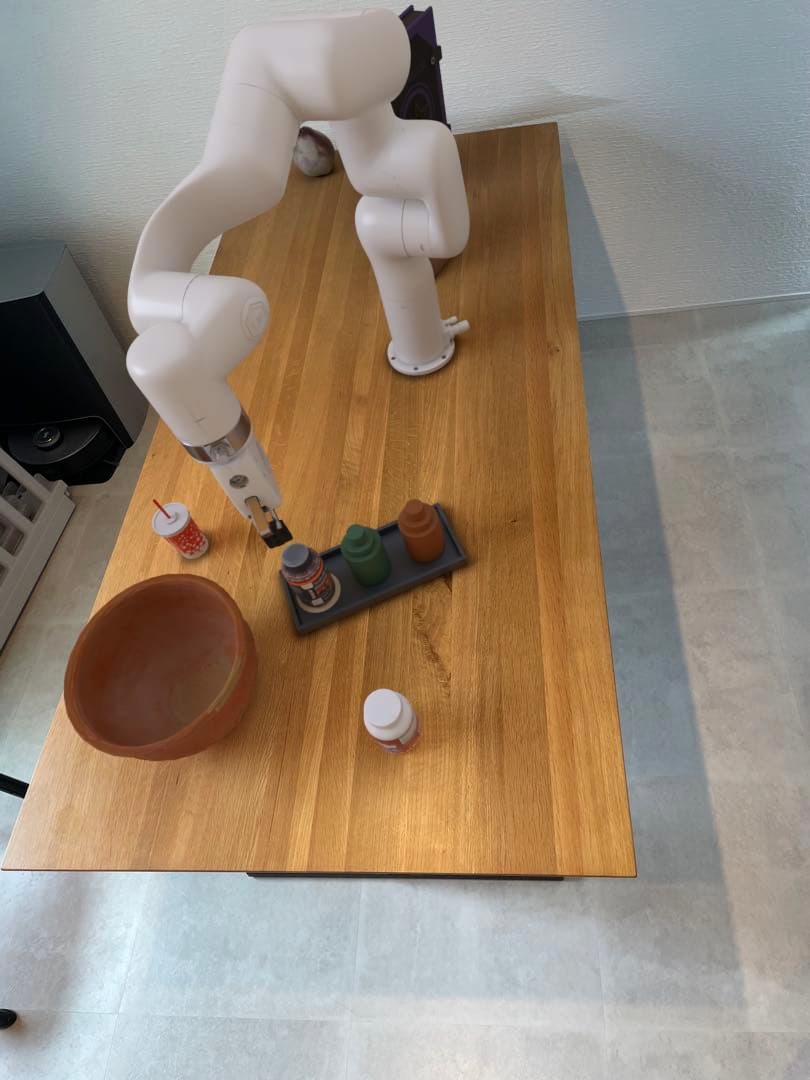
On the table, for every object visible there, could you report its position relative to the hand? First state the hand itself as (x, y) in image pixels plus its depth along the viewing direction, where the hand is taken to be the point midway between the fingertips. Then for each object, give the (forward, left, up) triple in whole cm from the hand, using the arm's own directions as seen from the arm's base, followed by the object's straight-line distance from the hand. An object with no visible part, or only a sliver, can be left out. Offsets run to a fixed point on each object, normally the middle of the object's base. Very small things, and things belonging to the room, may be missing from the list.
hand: (271, 513), depth 87 cm
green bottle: (-9, +1, -21) cm, 23 cm away
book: (-52, -90, -22) cm, 106 cm away
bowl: (+21, +9, -22) cm, 32 cm away
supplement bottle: (0, +1, -21) cm, 21 cm away
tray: (-9, +1, -21) cm, 23 cm away
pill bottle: (-4, +26, -22) cm, 34 cm away
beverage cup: (+17, -17, -22) cm, 33 cm away
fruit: (-34, -110, -22) cm, 117 cm away
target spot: (0, +1, -21) cm, 21 cm away
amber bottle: (-18, +1, -21) cm, 27 cm away
